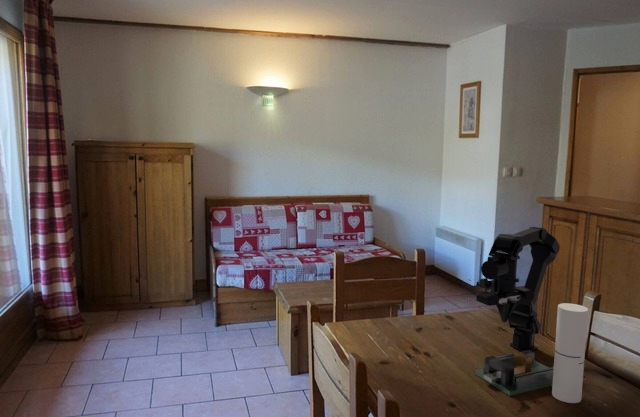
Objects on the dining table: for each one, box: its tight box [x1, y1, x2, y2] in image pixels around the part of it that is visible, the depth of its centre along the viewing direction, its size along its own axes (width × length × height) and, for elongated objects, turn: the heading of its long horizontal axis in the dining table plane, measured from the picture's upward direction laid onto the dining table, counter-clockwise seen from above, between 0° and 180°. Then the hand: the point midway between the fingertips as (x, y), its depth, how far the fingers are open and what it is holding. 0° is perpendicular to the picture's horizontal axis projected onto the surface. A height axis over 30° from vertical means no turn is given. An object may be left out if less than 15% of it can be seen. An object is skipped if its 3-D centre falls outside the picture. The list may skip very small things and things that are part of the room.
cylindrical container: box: [551, 302, 589, 404], centre depth 131 cm, size 7×7×25 cm
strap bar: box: [484, 351, 532, 383], centre depth 141 cm, size 14×4×5 cm, turn 113°
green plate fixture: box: [474, 350, 554, 396], centre depth 143 cm, size 22×14×6 cm, turn 113°
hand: (504, 321), depth 156 cm, fingers closed
